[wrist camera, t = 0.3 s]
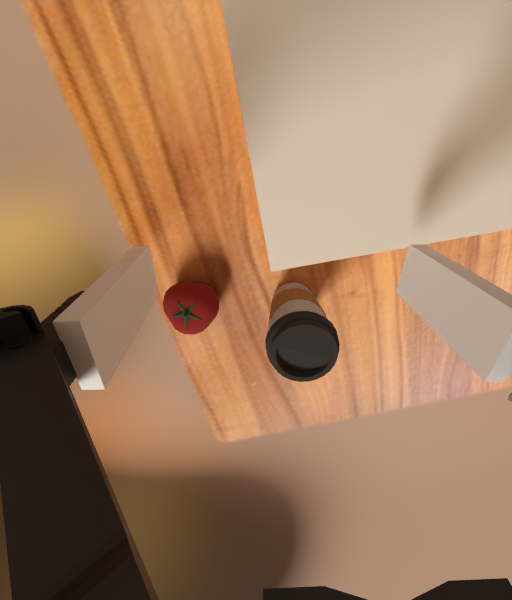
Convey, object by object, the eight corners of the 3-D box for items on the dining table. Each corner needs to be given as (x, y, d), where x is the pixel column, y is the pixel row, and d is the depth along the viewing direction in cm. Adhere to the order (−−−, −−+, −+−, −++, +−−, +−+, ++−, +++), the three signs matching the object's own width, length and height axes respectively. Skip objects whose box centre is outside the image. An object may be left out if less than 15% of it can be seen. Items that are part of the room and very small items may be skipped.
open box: (230, 2, 30) (149, -385, 10) (371, -40, 29) (643, -617, 8) (269, 224, 39) (271, 271, 19) (378, 202, 38) (512, 228, 17)
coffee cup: (306, 329, 46) (323, 393, 32) (258, 314, 45) (255, 373, 31) (327, 284, 43) (356, 334, 29) (276, 267, 42) (281, 309, 28)
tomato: (166, 280, 43) (147, 298, 37) (215, 270, 42) (205, 286, 36) (182, 324, 46) (167, 348, 40) (228, 316, 45) (221, 339, 39)
